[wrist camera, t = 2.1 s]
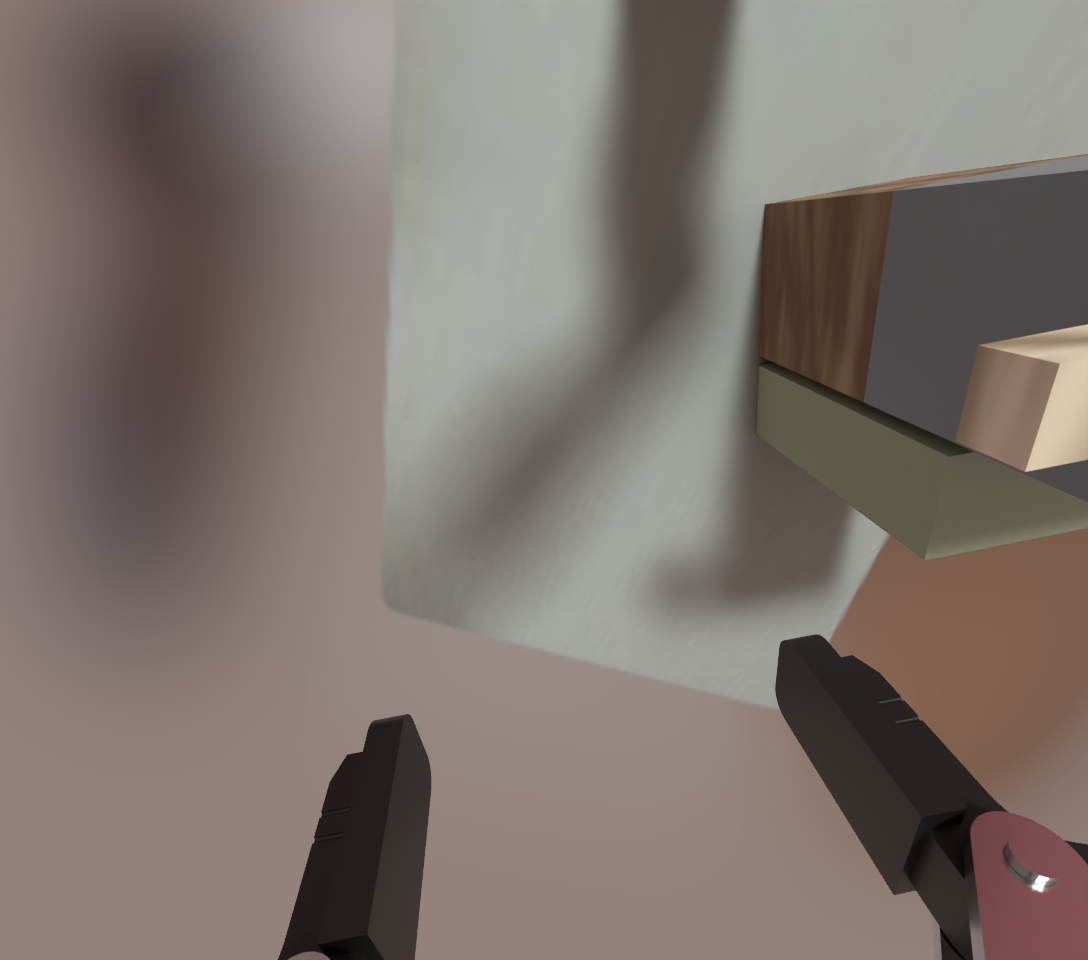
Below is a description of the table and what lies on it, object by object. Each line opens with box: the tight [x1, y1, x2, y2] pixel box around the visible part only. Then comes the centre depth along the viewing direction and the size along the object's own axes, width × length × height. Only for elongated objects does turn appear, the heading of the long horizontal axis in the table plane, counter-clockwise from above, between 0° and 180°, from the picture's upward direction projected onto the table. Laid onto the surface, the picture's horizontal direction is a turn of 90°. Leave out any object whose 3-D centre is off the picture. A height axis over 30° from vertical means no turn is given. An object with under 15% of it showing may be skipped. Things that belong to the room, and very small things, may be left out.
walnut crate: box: [759, 154, 1088, 402], centre depth 41 cm, size 14×14×16 cm
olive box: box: [756, 363, 1088, 560], centre depth 43 cm, size 14×8×24 cm, turn 99°
